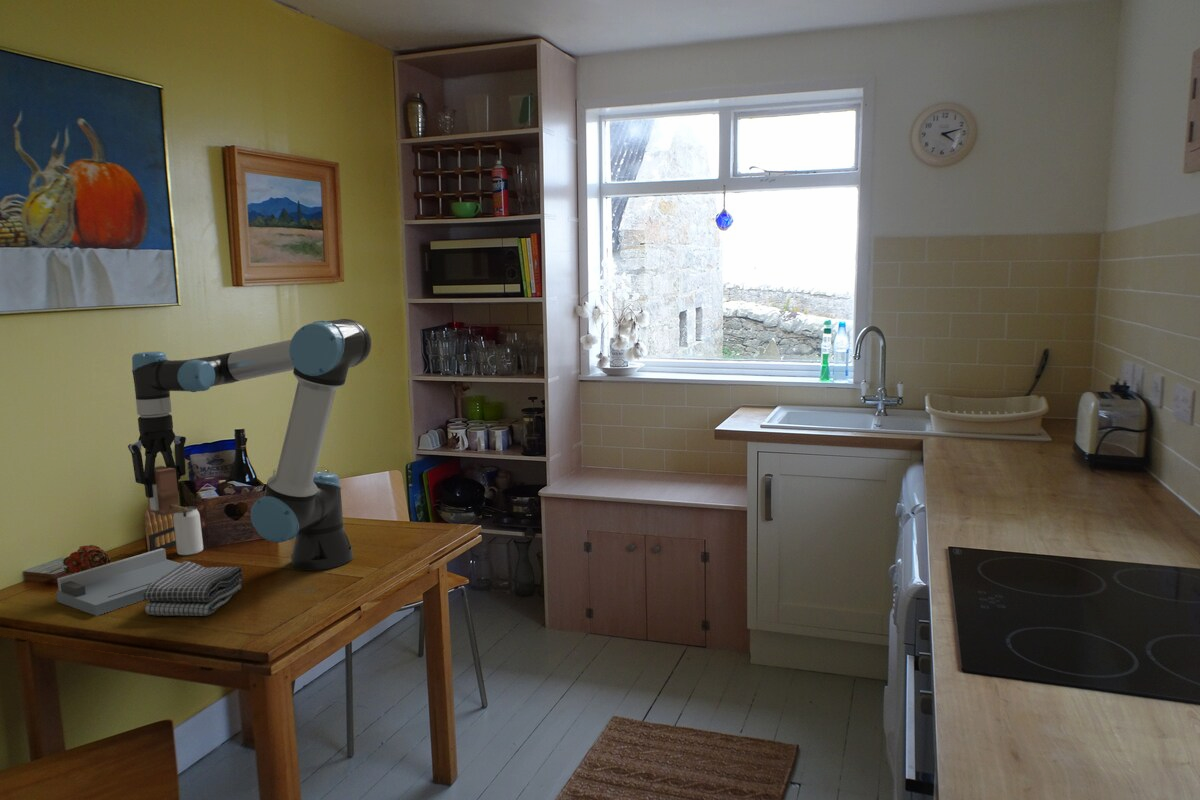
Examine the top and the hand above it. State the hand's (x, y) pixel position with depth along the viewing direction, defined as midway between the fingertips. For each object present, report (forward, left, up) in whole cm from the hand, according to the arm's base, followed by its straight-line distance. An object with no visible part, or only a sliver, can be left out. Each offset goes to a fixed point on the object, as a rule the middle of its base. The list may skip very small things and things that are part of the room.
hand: (164, 507), depth 216 cm
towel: (-26, +9, -18) cm, 32 cm away
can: (+12, -12, -17) cm, 25 cm away
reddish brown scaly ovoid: (+18, +12, -17) cm, 28 cm away
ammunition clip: (+23, -11, -17) cm, 31 cm away
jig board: (-4, +12, -17) cm, 21 cm away
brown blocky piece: (-3, 0, -1) cm, 3 cm away
